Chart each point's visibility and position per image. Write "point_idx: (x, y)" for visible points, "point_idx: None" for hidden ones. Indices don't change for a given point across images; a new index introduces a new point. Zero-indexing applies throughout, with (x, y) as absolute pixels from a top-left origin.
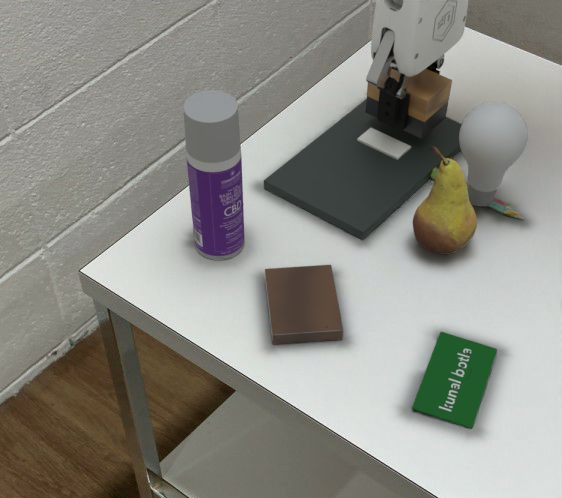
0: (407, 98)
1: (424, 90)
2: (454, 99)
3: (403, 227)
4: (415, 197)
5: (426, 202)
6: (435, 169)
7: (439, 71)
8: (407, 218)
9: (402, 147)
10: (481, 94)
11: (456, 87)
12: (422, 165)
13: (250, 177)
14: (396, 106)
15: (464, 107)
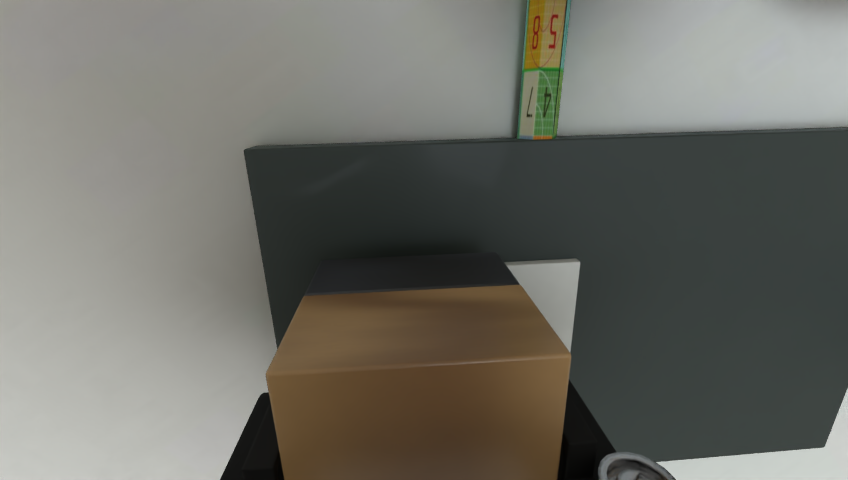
0: (594, 437)
1: (488, 422)
2: (136, 319)
3: (808, 59)
4: (656, 117)
5: None
6: (541, 133)
7: (246, 469)
8: (762, 75)
9: (524, 282)
10: (28, 271)
11: (78, 350)
12: (554, 180)
13: (773, 466)
14: (591, 428)
15: (142, 271)
